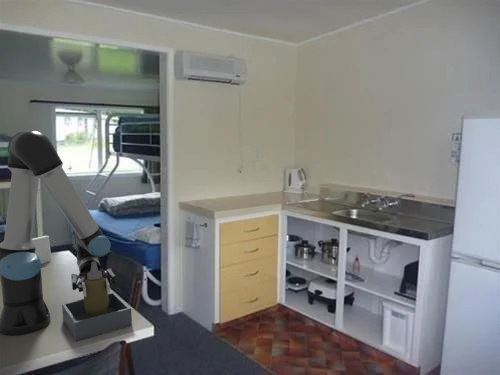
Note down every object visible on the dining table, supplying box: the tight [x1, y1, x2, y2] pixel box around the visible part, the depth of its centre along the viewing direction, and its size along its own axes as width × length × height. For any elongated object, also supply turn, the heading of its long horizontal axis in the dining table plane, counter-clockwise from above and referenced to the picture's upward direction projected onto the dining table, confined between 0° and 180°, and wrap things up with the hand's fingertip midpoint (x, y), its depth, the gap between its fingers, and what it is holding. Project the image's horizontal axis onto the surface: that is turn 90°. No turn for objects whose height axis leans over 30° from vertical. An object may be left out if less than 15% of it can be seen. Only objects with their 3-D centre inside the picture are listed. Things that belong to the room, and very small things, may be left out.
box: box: [61, 291, 133, 342], centre depth 138 cm, size 18×18×6 cm
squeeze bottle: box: [83, 262, 109, 317], centre depth 137 cm, size 8×8×18 cm
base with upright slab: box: [32, 235, 52, 264], centre depth 207 cm, size 9×9×12 cm
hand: (96, 290), depth 132 cm, fingers closed on squeeze bottle, 6 cm apart
